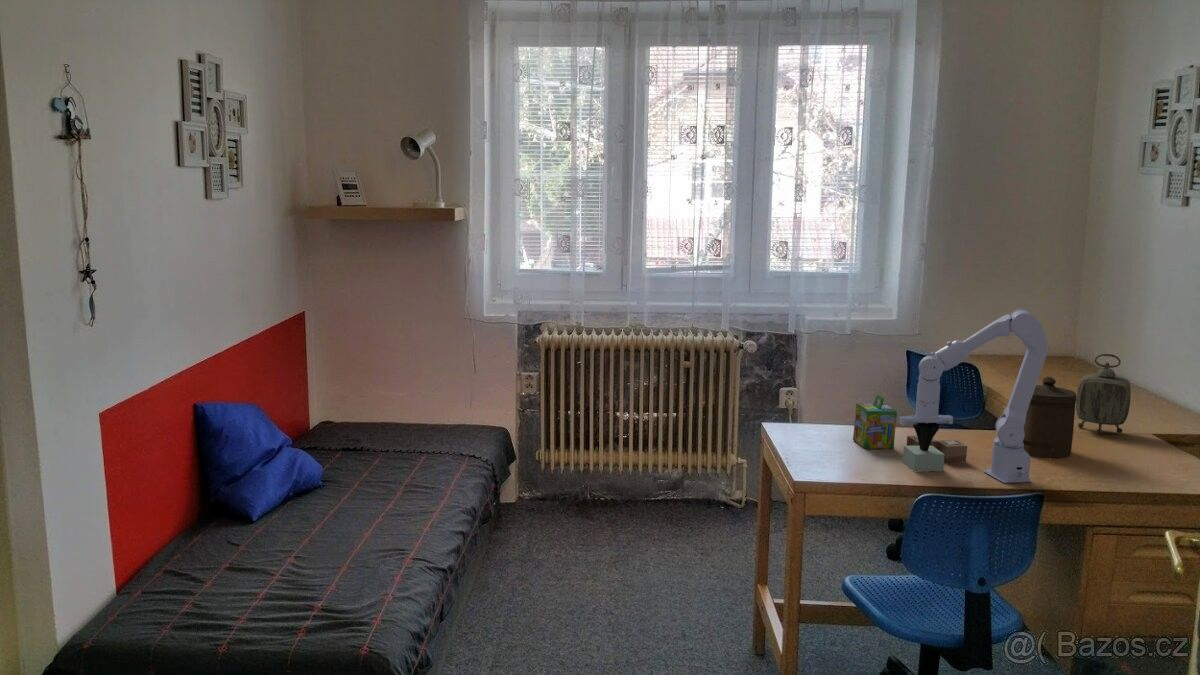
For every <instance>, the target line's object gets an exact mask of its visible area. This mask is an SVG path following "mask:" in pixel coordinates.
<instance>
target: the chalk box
mask: <svg viewBox="0 0 1200 675" xmlns="http://www.w3.org/2000/svg"><path fill="white" fill-rule="evenodd" d="M878 400H879V403H878ZM884 400H885V397H883V396H881V395H879V394H876V397H875V399H874V401H873V403H856V404H855V415H854V425H853V436H852V440H853V442H855V443H857V444H858V445H859V446H860V447H862V448H863V449H864V450H875V449H876V450H877V449H879V450H880V449H881V450H884V449H885V450H888V449H889V450H894V448H895V438H896V428H897V427H896V426H897V416H898V415H897V414H898V413H897V409H894V408H892V406H890V405H888V404H887V403H884Z"/></svg>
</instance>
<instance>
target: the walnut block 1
mask: <svg viewBox="0 0 1200 675" xmlns="http://www.w3.org/2000/svg"><path fill="white" fill-rule="evenodd" d="M937 442H938V441H936V439H934V438H933V439H932V441H931V443H930V446H933V447H935V448H936V449H937ZM906 446H919V441H918V437H917V434H916V435H906Z"/></svg>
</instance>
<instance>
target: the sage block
mask: <svg viewBox="0 0 1200 675" xmlns="http://www.w3.org/2000/svg"><path fill="white" fill-rule="evenodd" d="M944 456H945V454H943V453H942V452H940V451H939V450H938V449H936V448H935V447H933V446H929V449H928V451H923V450H921V449H920V446H907V445H903V449H902V461H901V462H902V463H903V465H905V466H906V467H907V466H908V467H907V468H908V469H909V470H911V469H912V470H913V471H912V470H911V471H912V472H914V471H943V472H944V466H945V463H944Z"/></svg>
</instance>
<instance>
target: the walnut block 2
mask: <svg viewBox="0 0 1200 675" xmlns="http://www.w3.org/2000/svg"><path fill="white" fill-rule="evenodd" d="M935 440H936V439H935ZM936 441H938V442H937V449H938V450H939V451H940V452H942V453H943V454H945V456H944V464H945V463H948V464H966V463H967V453H968V445H967V444H965V443H963V442H961V441H959V440H957V439H937V440H936Z"/></svg>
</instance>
